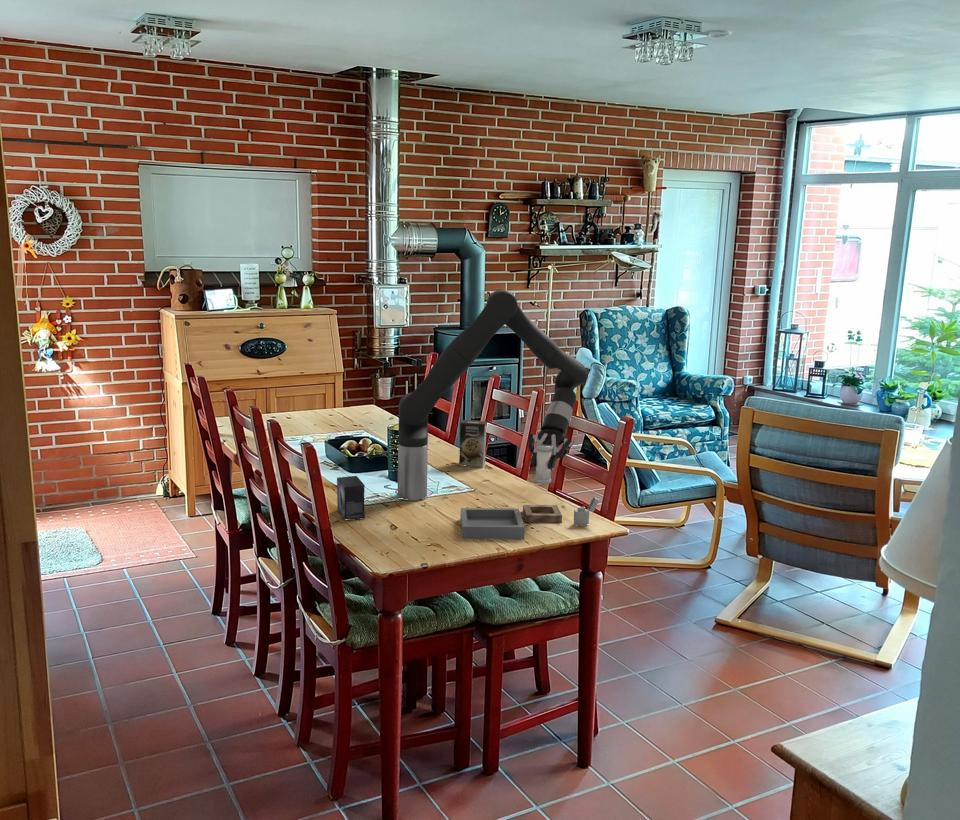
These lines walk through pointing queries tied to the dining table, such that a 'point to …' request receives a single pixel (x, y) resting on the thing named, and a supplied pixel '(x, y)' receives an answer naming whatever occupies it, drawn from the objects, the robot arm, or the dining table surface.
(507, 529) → the parts tray
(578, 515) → the lighter
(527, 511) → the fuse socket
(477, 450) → the coffee box
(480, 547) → the dining table surface
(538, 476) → the fuse
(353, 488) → the small box
